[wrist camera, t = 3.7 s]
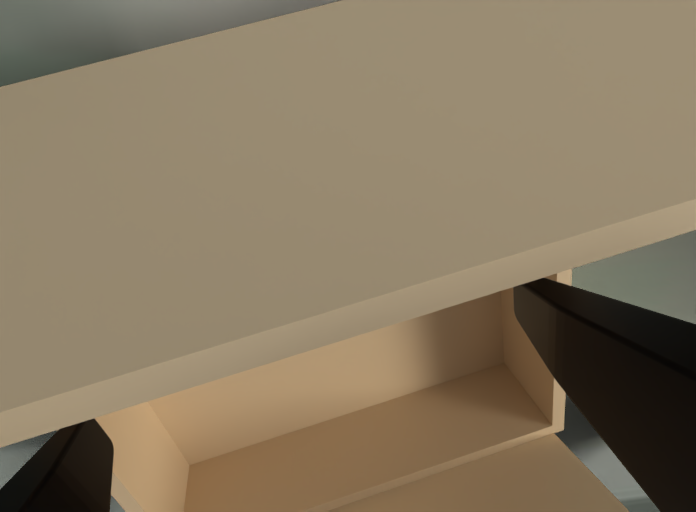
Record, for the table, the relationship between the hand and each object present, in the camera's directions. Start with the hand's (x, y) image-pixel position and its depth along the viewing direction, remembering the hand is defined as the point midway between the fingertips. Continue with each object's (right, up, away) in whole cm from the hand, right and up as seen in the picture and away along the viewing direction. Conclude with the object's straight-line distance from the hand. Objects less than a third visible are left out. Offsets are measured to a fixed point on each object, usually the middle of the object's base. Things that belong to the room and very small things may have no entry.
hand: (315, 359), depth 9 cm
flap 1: (-1, +4, -2) cm, 5 cm away
